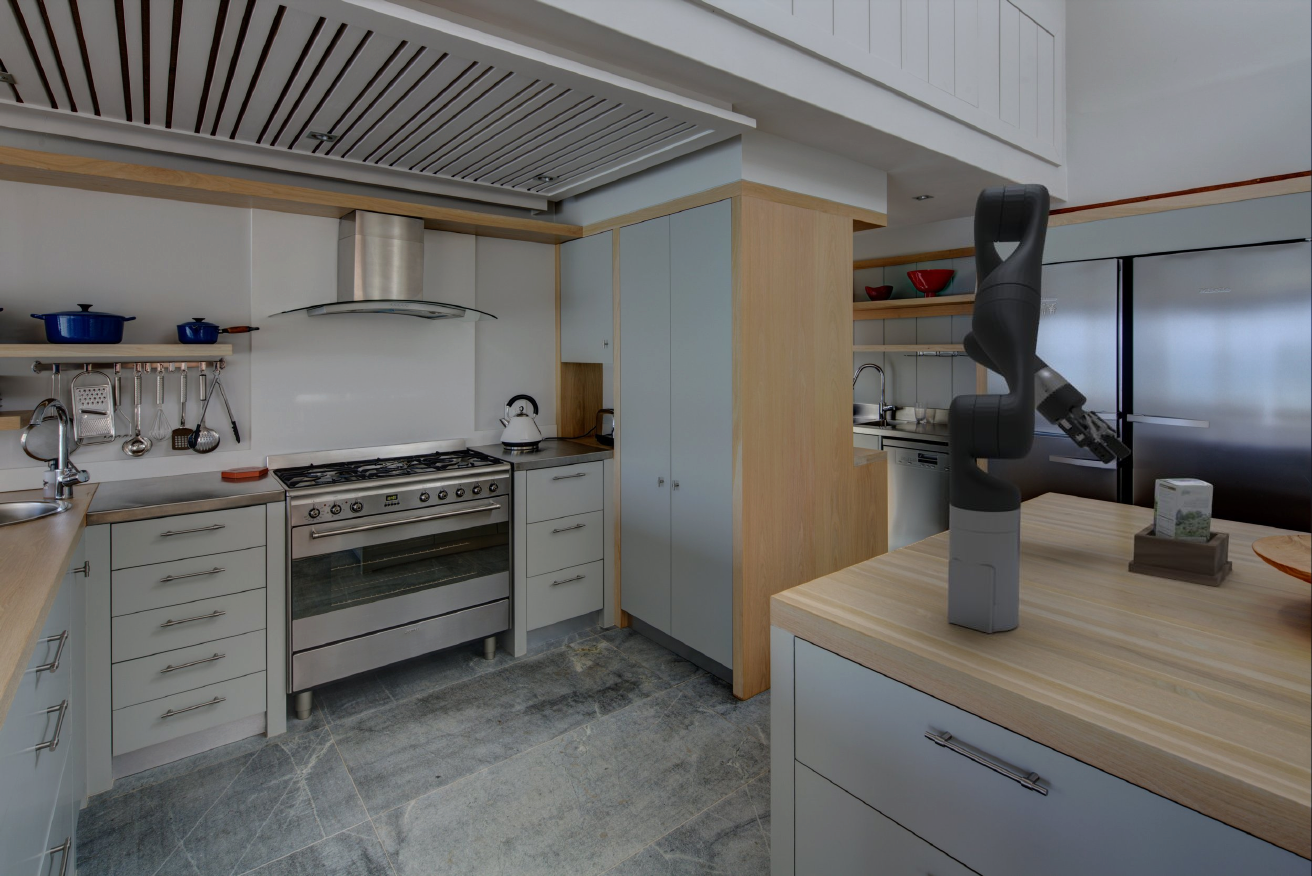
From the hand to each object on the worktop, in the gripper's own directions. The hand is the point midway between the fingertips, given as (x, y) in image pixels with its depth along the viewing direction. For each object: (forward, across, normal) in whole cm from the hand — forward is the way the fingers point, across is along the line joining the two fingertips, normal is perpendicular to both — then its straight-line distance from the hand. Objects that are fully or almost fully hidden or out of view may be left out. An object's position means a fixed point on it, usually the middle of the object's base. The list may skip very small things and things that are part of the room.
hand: (1119, 458), depth 119 cm
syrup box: (+19, 0, +6) cm, 20 cm away
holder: (+20, 0, +7) cm, 21 cm away
